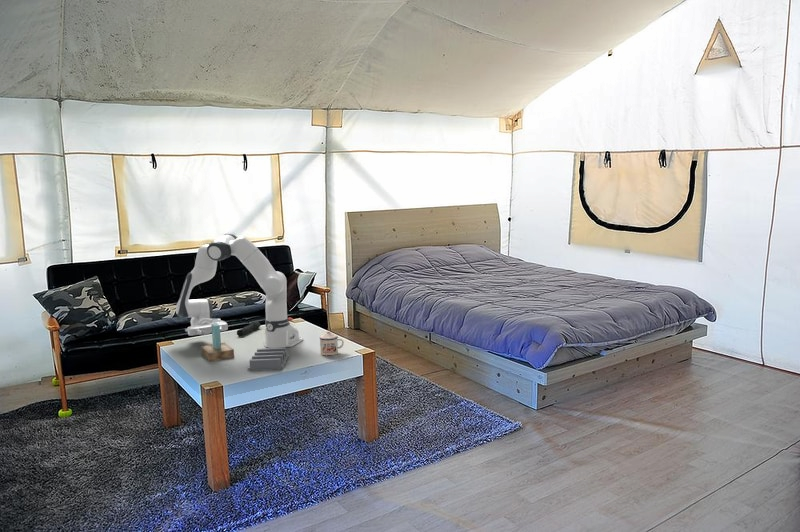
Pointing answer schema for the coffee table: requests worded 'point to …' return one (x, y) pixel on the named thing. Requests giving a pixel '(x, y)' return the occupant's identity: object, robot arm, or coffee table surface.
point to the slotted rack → (268, 359)
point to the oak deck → (217, 352)
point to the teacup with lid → (329, 344)
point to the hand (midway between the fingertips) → (211, 331)
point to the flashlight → (248, 328)
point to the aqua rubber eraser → (216, 336)
